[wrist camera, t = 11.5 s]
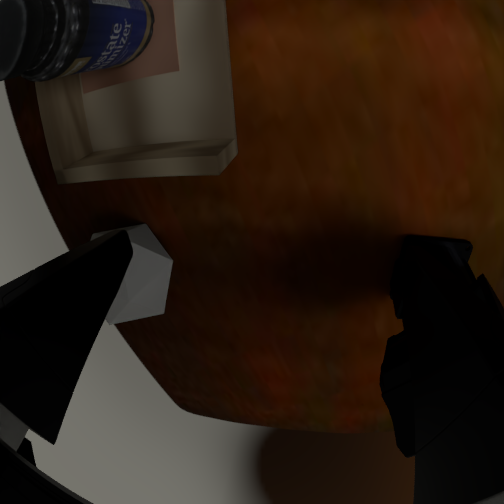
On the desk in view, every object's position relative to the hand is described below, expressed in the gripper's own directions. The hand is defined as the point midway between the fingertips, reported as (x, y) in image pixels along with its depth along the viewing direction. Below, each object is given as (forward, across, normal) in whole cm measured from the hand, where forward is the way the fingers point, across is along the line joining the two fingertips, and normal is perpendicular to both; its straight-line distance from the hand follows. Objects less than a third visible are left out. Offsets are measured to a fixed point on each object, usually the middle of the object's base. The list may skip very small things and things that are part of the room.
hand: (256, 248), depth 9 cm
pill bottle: (+13, +12, -10) cm, 20 cm away
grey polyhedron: (+13, +14, +10) cm, 22 cm away
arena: (+13, +11, -7) cm, 18 cm away
